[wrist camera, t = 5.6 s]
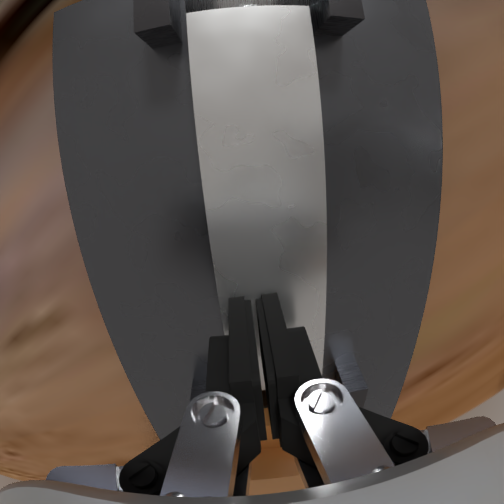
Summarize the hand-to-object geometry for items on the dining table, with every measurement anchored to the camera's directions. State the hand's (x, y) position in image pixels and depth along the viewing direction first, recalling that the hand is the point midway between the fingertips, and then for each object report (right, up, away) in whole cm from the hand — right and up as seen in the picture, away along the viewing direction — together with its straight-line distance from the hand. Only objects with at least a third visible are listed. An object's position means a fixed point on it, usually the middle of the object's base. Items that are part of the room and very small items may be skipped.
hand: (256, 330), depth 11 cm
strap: (0, +4, -1) cm, 4 cm away
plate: (0, +2, +2) cm, 3 cm away
